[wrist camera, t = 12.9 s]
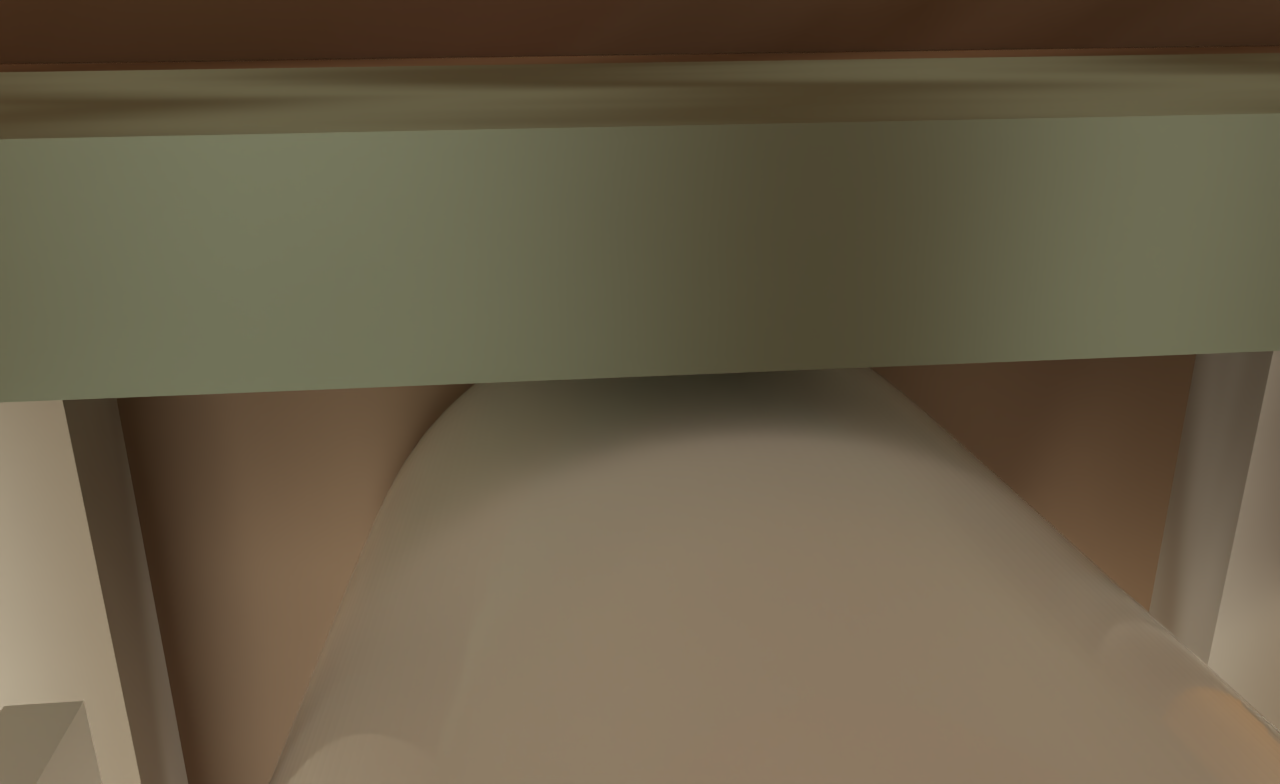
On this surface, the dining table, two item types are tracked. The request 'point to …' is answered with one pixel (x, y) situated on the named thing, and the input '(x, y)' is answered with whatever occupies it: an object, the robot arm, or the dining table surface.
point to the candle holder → (740, 607)
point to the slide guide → (600, 321)
